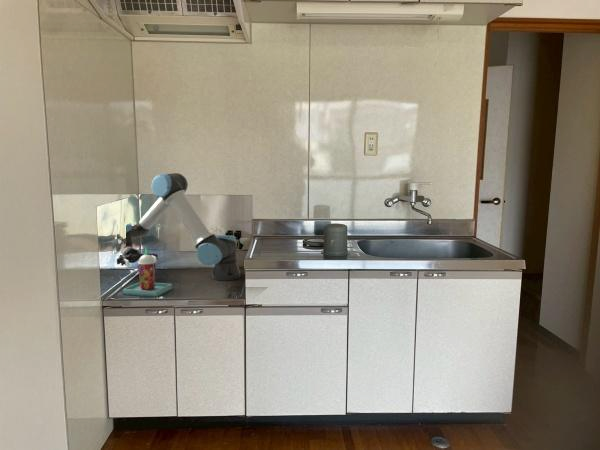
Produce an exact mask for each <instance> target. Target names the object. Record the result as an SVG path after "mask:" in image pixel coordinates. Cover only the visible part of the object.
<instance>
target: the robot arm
mask: <svg viewBox="0 0 600 450" xmlns="http://www.w3.org/2000/svg"><path fill="white" fill-rule="evenodd" d="M150 186H151V191H152V194H154V196H156V197H158V198H157V200H156V201H154V203H153V204H151V206H150V207H149V208H148V209H147V211H145V213H144V214H143V216H142V217H141V218H140V219H139V220H138V221H137V222H136V223H135V224H131V223H130V222H128V223H129V224H127V225H126V246H125V247H124V249H123V251H122V255H120V256H118V258H116V264H117V265H121V267H123V266H126V268H127V267H129V268H130V264H133V263H137V262H138V261H139V259H140V257H141V256H143V255H145V252H144V253H142V252H141V253H140V252H139V250H138V249H136V248H134V245H133V242H134V241H133V240H134V239H140V238H144V237H146V236H148V235H149V234H150V232H151V229H152V228H153V226H154V225H155V224H156V223H157V222H158V220H160V218H161V217H162V216H163V215H164V214H165V213H166V211H167V210H169V208H170V207H171V208H172V210H173V211H174V213H175V214H176V215H177V217H178V219H179V220H180V222H181V223H182V224H183V226H184V227H185V229H186V230H187V231H188V233H189V235H190V236H191V238H192V239H193V241H194V242H195V244H194V248H195V249H196V257H197V260H198V261H199V262H200V263H202V264H203V265H206V266H213V269H212V274H211V276H212V279H213V280H215V281H224V282H225V281H233V280H237V279H239V278H241V270H240V268H239V266H238V265H239V264H238V261H237V260H238V257H237V255H238V254H237V252H238V251H237V243H238V242H237V237H236V236H234V235H226V234H222V235H219V234H218V235H217V234H215V233H214V232H213V233H212V232H210V231H209V229H208V228H207V227H206V225H205V224H204V223H203V221H202V219H201V217H199V215H198V213H197V212H196V211H195V209H194V208H193V206H192V205H191V203H190V201H189V200H188V199H187V198H186V196H185V194H186V192H187V190H188V180H187V178H186V177H185V175H183V174H181V173H177V172H176V173H175V172H174V173H162V174H161V173H160V174H157V175H155V176H154V178H153V179H152V181H151V184H150ZM132 225H134V226H132ZM147 254H148V255H151V256H152V257H153V258H154V260H155V261H156V262H155V263H156V264H157V263H158V259H159V255H158V254H157V253H150V252H147Z"/></svg>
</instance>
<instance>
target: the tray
mask: <svg viewBox="0 0 600 450" xmlns="http://www.w3.org/2000/svg"><path fill="white" fill-rule="evenodd" d="M172 289H173V283H166V282H165V283H163V282H155V287H154V289H153V290H150V291H145V290H142V289H141V287H140V281H138V282H136V283H134V284H132V285H129V286H126V287H125V288H123V289H122V295H127V296H128V295H129V296H140V297H155V298H157V297H159V296H160V295H163V294H165V293H166V292H169V291H170V290H172Z"/></svg>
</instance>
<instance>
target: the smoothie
mask: <svg viewBox="0 0 600 450" xmlns="http://www.w3.org/2000/svg"><path fill="white" fill-rule="evenodd" d="M144 250H145V251H144V253H145V255H143V256H141V257H140V259H139V260H138V261H136V263H137V270H138V276H139V277H138V278H139V279H138V280H139V282H140V287H141V289H142V290H145V291H150V290H153V289H154V287H155V283H156V265H157V263H155V262H156V261H155V260H154V258H153V257H152V256H151V255H148V254H147V253H148V252H147V251H148V250H147V248H145V249H144Z"/></svg>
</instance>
